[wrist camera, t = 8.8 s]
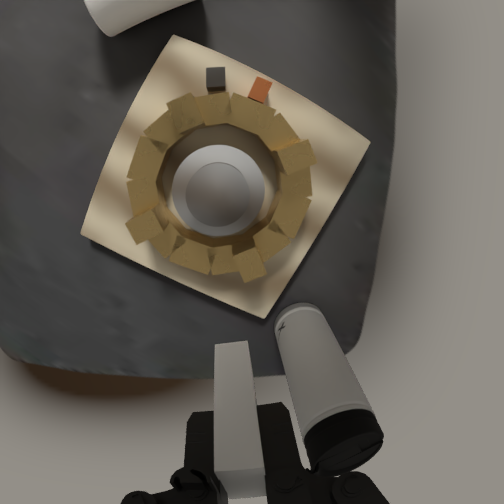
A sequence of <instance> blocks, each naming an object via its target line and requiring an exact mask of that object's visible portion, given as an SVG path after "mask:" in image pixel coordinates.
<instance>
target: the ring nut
mask: <svg viewBox="0 0 504 504" xmlns="http://www.w3.org/2000/svg"><path fill="white" fill-rule="evenodd" d="M272 83H273V82H270V81H268V80H266V79H263V78H261V77H258V76H257V77H256V79H255V81H254V83H253V86H252V88H251V90H250V92H249V94H248V97H244V96H242V95H239V94H236V93H234V92H233V94H232V97H231V99H230V96H229V92H225V93H218V94H211V95H205V96H199V97H194V96H193V94H192V93H191V92H190V93H188V94H185V95H183V96H181V97H179V98H176V99H174V100H172V101H170V102H168V103H166V105H167V107H168V109H169V110H167V111H166V112H165V113H164V114H163V115H161V116H160V117H159V118H158V119H157V120H156V121H154V122H153V123H152V124H151V125H150V126H149V127H148V128H146V129H145V130H144V131H143V132H144V133H145V134H146V135H141V136H140V138H139V141H138V144H137V147H136V150H135V152H134V155H133V158H132V161H131V164H130V168H129V171H128V174H127V177H126V178H129V179H131V180H129V181H127V182H126V184H127V189H128V194H129V199H130V203H131V208H132V212H133V217H132V218H131V219H130V220H128V221H127V222H126V223H125V225H126V227H127V229H128V231H129V232H130V234H131V236H132V238H133V240H134V241H135V243H136V245H138V244H140V243H142V242H144V241H146V240H148V241H149V242H150V243H151V244H152V245H153V246H154V247H155V248H156V249H157V251H158V252H159V253H160V254H161V255H162V256H163V257H164V258H165V259H166V258H167V257H168V256H169V255H170V254H171V255H170V258H169V261H170V262H172V263H175V264H178V265H181V266H184V267H187V268H189V269H192V270H195V271H198V272H201V273H204V274H207V275H208V274H209V271H210V269H211V272H212V275H218V274H224V273H231V272H238V271H239V272H240V274H241V276H242V278H243V281H244V283H246V282H249V281H252V280H254V279H257V278H259V277H262V276H264V275H267V272H266V269H265V266H264V262H266V261H267V260H268V259H270V258H271V257H272V256H274V255H275V254H276V253H278V252H279V251H280V250H282V249H283V248H284V247H286V246H287V245H288V244H290V243H291V241H290V240H289V238H288V237H290V238H292V239H294V238H295V236H296V234H297V232H298V229H299V227H300V225H301V223H302V221H303V219H304V216H305V214H306V212H307V210H308V208H309V205H310V203H311V201H312V200H311V199H309V198H308V197H311V196H312V184H311V173H310V166H312V165H314V164H317V163H318V162H317V160H316V157H315V155H314V152H313V150H312V147H311V144H310V142H309V140H308V139H300V138H299V137H298V136H297V134H296V133H295V132H294V130H293V129H292V128H291V126H290V125H289V124H288V122H287V121H286V120H285V118H284V117H283V116H282V114H281V113H278V114H276V115H275V116H274V114H275V112H276V109H274V108H271V107H269V106H266V105H264V104H263V103H264V101H265V99H266V96H267V94H268V92H269V90H270V88H271V85H272ZM221 125H229V126H231V127H234V128H237V129H239V130H242V131H244V132H247V133H249V134H252V135H254V136H256V137H257V139H258V140H259V141H260V142H261V144H262V145H263V146H264V148H265V149H266V150H267V151H268V153H269V154H270V155H271V157H272V158H273V159H274V164H275V173H276V181H277V192H276V194H275V196H274V199H273V201H272V203H271V205H270V208H269V210H268V212H267V215H266V217H264V218H263V219H262V220H260V221H259V222H258V223H256V224H255V225H254V226H252V227H251V228H250V229H248V230H247V231H246V232H245V233H243V234H240V235H233V236H227V237H220V238H214V239H213V238H211V237H208V236H205V235H202V234H199V233H197V232H194V231H191V230H188V229H186V228H185V227H184V226H183V225H182V223H181V222H180V221H179V220H178V219H177V218H176V216H175V215H174V214H173V213H172V212H171V211H170V209H169V208H168V207H167V204H166V198H165V193H164V188H163V182H162V175H163V173H164V170H165V167H166V164H167V161H168V159H169V156H170V153H171V151H172V149H173V148H174V147H175V146H177V145H178V144H179V143H180V142H181V141H183V140H184V139H185V138H186V137H187V136H189V135H190V134H191V133H192V132H194V131H195V130H197V129H203V128H209V127H215V126H221Z"/></svg>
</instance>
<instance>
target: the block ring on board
mask: <svg viewBox="0 0 504 504" xmlns="http://www.w3.org/2000/svg"><path fill="white" fill-rule="evenodd" d="M257 76H258V77H261V78H263V79H266V80H268V81H270V82H273V83H272V85H271V88H270V90H269V92H268V94H267V96H266V99H265V101H264V103H263V104H264V105H266V106H269V107H271V108H274V109H276V112H275V114H274V116H275V115H276V114H278V113H281V114H282V116H283V117H284V118H285V120H286V121H287V122H288V124H289V125H290V126H291V128H292V129H293V130H294V132H295V133H296V134H297V136H298V137H299V138H300V139H308V140H309V142H310V144H311V147H312V150H313V152H314V155H315V157H316V160H317V162H318V163H317V164H314V165H312V166H310V173H311V184H312V196H311V197H308V198H309V199H311V200H312V201H311V203H310V205H309V208H308V210H307V212H306V214H305V216H304V219H303V221H302V223H301V225H300V227H299V229H298V232H297V234H296V236H295V238H294V239H292V238H290V237H288V238H289V240H290V241H291V243H290V244H288V245H287V246H286V247H284V248H283V249H282V250H280V251H279V252H278V253H276V254H275V255H274V256H272V257H271V258H270V259H268V260H267V261H266V262H264V266H265V269H266V272H267V275H264V276H262V277H259V278H257V279H254V280H252V281H249V282H246V283H244V281H243V278H242V276H241V274H240V272H239V271H238V272H231V273H224V274H218V275H212V272H211V269H210V271H209V274H208V275H207V274H204V273H201V272H198V271H195V270H192V269H189V268H187V267H184V266H181V265H178V264H175V263H172V262H170V261H169V258H170V255H171V254H170V255H169V256H168V257H167V258H166V259H165V258H164V257H163V256H162V255H161V254H160V253H159V252H158V251H157V249H156V248H155V247H154V246H153V245H152V244H151V243H150V242H149V241H148V240H146V241H144V242H142V243H140V244H138V245H136V243H135V241H134V240H133V238H132V236H131V234H130V232H129V231H128V229H127V227H126V225H125V223H126V222H127V221H128V220H130V219H131V218H132V217H133V212H132V208H131V203H130V199H129V194H128V189H127V184H126V182H127V181H129V180H131V179H129V178H126V177H127V174H128V171H129V168H130V164H131V161H132V158H133V155H134V152H135V150H136V147H137V144H138V141H139V138H140V136H141V135H146V134H145V133H144V132H143V131H144V130H145V129H146V128H148V127H149V126H150V125H151V124H152V123H153V122H154V121H156V120H157V119H158V118H159V117H160V116H161V115H163V114H164V113H165V112H166V111H167V110H169V109H168V107H167V105H166V103H168V102H170V101H172V100H174V99H176V98H179V97H181V96H183V95H185V94H188V93H190V92H191V93H192V94H193V96H194V97H199V96H205V95H211V94H218V93H225V92H229V96H230V99H231V97H232V94H233V92H234V93H236V94H239V95H242V96H244V97H248V94H249V92H250V90H251V88H252V86H253V83H254V81H255V79H256V77H257ZM370 143H371V142H370V141H369V140H368V139H366V138H365V137H363V136H362V135H361V134H359V133H358V132H357V131H355V130H354V129H352V128H351V127H349V126H348V125H347V124H345V123H344V122H342V121H341V120H339V119H338V118H336V117H335V116H333V115H332V114H330V113H329V112H327V111H326V110H324V109H322V108H321V107H319V106H318V105H316V104H314V103H313V102H311V101H310V100H308V99H306V98H305V97H303V96H301V95H300V94H298V93H296V92H295V91H293V90H291V89H289V88H288V87H286V86H284V85H282V84H280V83H279V82H277V81H275V80H273V79H271V78H269V77H268V76H266V75H264V74H262V73H260V72H258V71H256V70H254V69H252V68H250V67H248V66H246V65H244V64H242V63H240V62H238V61H236V60H234V59H231V58H229V57H227V56H225V55H223V54H220V53H218V52H216V51H214V50H211V49H209V48H207V47H204V46H202V45H199V44H197V43H194V42H192V41H189V40H187V39H184V38H181V37H179V36H176V35H172V37H171V38H170V40H169V42H168V43H167V45H166V46H165V48H164V49H163V51H162V53H161V54H160V56H159V57H158V59H157V61H156V62H155V64H154V66H153V67H152V69H151V71H150V72H149V74H148V76H147V78H146V80H145V81H144V83H143V85H142V87H141V89H140V90H139V92H138V94H137V96H136V98H135V100H134V102H133V104H132V106H131V108H130V110H129V112H128V114H127V116H126V118H125V120H124V122H123V124H122V126H121V128H120V130H119V132H118V135H117V137H116V139H115V141H114V144H113V146H112V148H111V151H110V153H109V155H108V158H107V160H106V162H105V165H104V167H103V170H102V172H101V175H100V178H99V180H98V183H97V186H96V188H95V191H94V194H93V197H92V200H91V202H90V205H89V208H88V211H87V214H86V218H85V221H84V224H83V227H82V230H81V234H82V235H84V236H86V237H87V238H89V239H91V240H93V241H95V242H97V243H99V244H101V245H103V246H105V247H107V248H109V249H111V250H113V251H115V252H117V253H119V254H121V255H123V256H125V257H127V258H129V259H131V260H133V261H135V262H137V263H139V264H141V265H143V266H145V267H148V268H150V269H152V270H154V271H156V272H158V273H160V274H162V275H164V276H167V277H169V278H171V279H173V280H175V281H177V282H180V283H182V284H184V285H186V286H188V287H191V288H193V289H195V290H197V291H200V292H202V293H204V294H206V295H209V296H211V297H213V298H216V299H218V300H220V301H222V302H225V303H227V304H229V305H232V306H234V307H237V308H239V309H241V310H244V311H246V312H248V313H251V314H253V315H256V316H258V317H261V318H263V319H265V317H266V316H267V314H268V313H269V311H270V310H271V308H272V307H273V305H274V303H275V302H276V300H277V299H278V297H279V296H280V294H281V293H282V291H283V289H284V288H285V286H286V285H287V283H288V282H289V280H290V278H291V277H292V275H293V274H294V272H295V271H296V269H297V267H298V266H299V264H300V263H301V261H302V259H303V258H304V256H305V254H306V253H307V251H308V250H309V248H310V246H311V245H312V243H313V241H314V240H315V238H316V236H317V235H318V233H319V232H320V230H321V228H322V227H323V225H324V223H325V222H326V220H327V218H328V216H329V215H330V213H331V211H332V210H333V208H334V206H335V205H336V203H337V201H338V199H339V198H340V196H341V194H342V193H343V191H344V189H345V187H346V186H347V184H348V182H349V180H350V179H351V177H352V175H353V173H354V172H355V170H356V168H357V166H358V165H359V163H360V161H361V159H362V157H363V156H364V154H365V152H366V150H367V148H368V147H369V145H370ZM162 182H163V188H164V193H165V198H166V204H167V207H168V208H169V209H170V211H171V212H172V213H173V214H174V215H175V216H176V218H177V219H178V220H179V221H180V222H181V223H182V225H183V226H184V227H185V228H186V229H188V230H191V231H194V232H197V233H199V234H202V235H205V236H208V237H211V238H213V239H214V238H220V237H227V236H233V235H240V234H243V233H245V232H246V231H247V230H248V229H250V228H251V227H252V226H254V225H255V224H256V223H258V222H259V221H260V220H262V219H263V218H264V217H266V215H267V212H268V210H269V208H270V205H271V203H272V201H273V199H274V196H275V194H276V192H277V181H276V173H275V164H274V159H273V158H272V157H271V155H270V154H269V153H268V151H267V150H266V149H265V148H264V146H263V145H262V144H261V142H260V141H259V140H258V139H257V137H256V136H254V135H252V134H249V133H247V132H244V131H242V130H239V129H237V128H234V127H231V126H229V125H221V126H215V127H209V128H203V129H197V130H195V131H194V132H192V133H191V134H190V135H189V136H187V137H186V138H185V139H184V140H183V141H181V142H180V143H179V144H178V145H177V146H175V147H174V148H173V149H172V151H171V153H170V156H169V159H168V161H167V164H166V167H165V170H164V173H163V175H162Z"/></svg>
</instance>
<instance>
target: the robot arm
mask: <svg viewBox="0 0 504 504" xmlns="http://www.w3.org/2000/svg"><path fill="white" fill-rule="evenodd" d="M186 434H187V435H186V444H185V459H184V467H183V468H181V469H179V470H177V471H176V472H175V473H174V474H173V475H172V476H171V479H170V483H171V485H172V486H173V487H174V488H173V489H171V490H168V491H165V492H161V493H156V494H149V493H147V492H144V491H134V492H131V493H129V494H127V495H126V496H125V497H124V499H123V500H122V502H121V504H228V498H229V499H239V498H250V497H260V496H267V502H268V504H389V502H388V501H387V500H386V498H385V497H384V496H383V495H382V493H381V492H380V491H379V489H378V488H377V487H376V485H375V484H374V483H373V481H372V480H371V479H370V478H369V477H368V476H367V475H366V474H364V473H361V472H357V471H354V472H352V471H350V472H347V473H344V474H342V475H340V476H339V477H322V476H316V475H313V474H311V473H309V472H308V471H306V470H305V469H304V467H303V466H302V463H301V460H300V456H299V452H298V448H297V443H296V439H295V435H294V431H293V426H292V422H291V418H290V413H289V410H288V409H287V408H286V407H285V406H284V405H283V403H282V402H279V403H271V404H265V405H257V401H256V393H255V386H254V378H253V372H252V366H251V360H250V353H249V347H248V341H240V342H232V343H224V344H215V365H214V411H205V412H193V413H192V415H191V416H190V418H189V420H188V422H187V431H186Z"/></svg>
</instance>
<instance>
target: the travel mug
mask: <svg viewBox="0 0 504 504" xmlns="http://www.w3.org/2000/svg"><path fill="white" fill-rule="evenodd" d="M274 332H275V336H276V339H277V343H278V347H279V351H280V355H281V359H282V363H283V366H284V370H285V374H286V378H287V382H288V385H289V389H290V393H291V397H292V401H293V405H294V409H295V413H296V416H297V420H298V424H299V428H300V432H301V436H302V439H303V443H304V445H305V448H306V451H307V456H308V458H309V462H310V466H311V470H309V469H308V468H306V471H308V472H309V473H311V474H313V475H316V476H322V477H335V476H339V475H342V474H344V473H347V472H350V471H352V470H354V469H356V468H358V467H359V466H361V465H363V464H364V463H365V462H367V461H368V460H370V459H371V458H372V457H373V456H374V455H375V454H376V453H377V452H378V451H379V450H380V448H381V447H382V444H383V437H384V434H383V432H382V430H381V428H380V426H379V424H378V423H377V420H376V417H375V414H374V412H373V411H372V408H371V406H370V404H369V402H368V400H367V398H366V396H365V394H364V392H363V390H362V388H361V386H360V384H359V382H358V380H357V378H356V376H355V374H354V372H353V370H352V368H351V367H350V365H349V363H348V361H347V359H346V357H345V355H344V353H343V351H342V349H341V347H340V346H339V344H338V342H337V340H336V338H335V336H334V334H333V332H332V330H331V329H330V327H329V325H328V323H327V321H326V319H325V317H324V315H323V314H322V312H321V310H320V309H319V308H318V307H317V306H315V305H313V304H310V303H296V304H293V305H290V306H288V307H286V308H285V309H284V310H282V311H281V312H280V313H279V315H278V316H277V318H276V320H275V323H274Z"/></svg>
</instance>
